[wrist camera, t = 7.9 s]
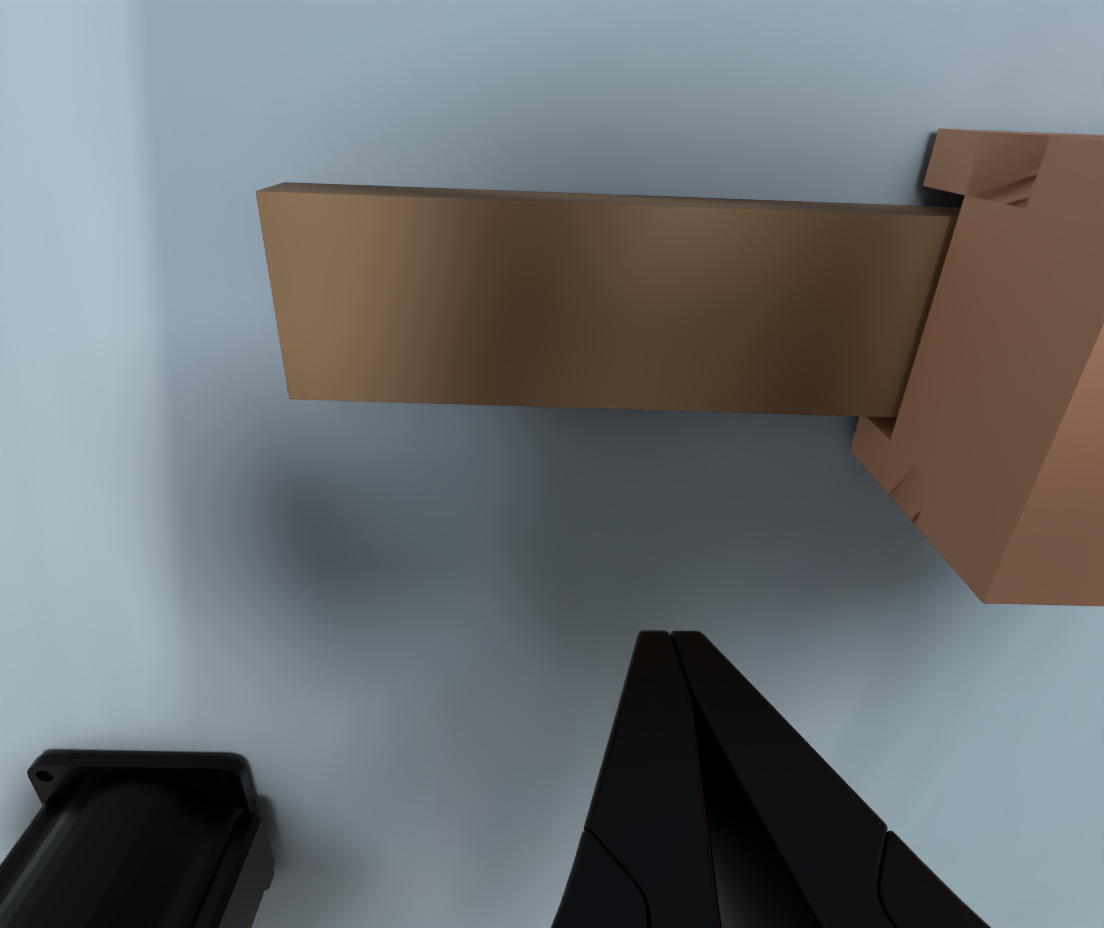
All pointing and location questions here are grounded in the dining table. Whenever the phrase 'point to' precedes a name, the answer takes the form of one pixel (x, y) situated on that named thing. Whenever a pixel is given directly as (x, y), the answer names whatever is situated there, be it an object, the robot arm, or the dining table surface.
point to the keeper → (1009, 374)
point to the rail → (599, 298)
